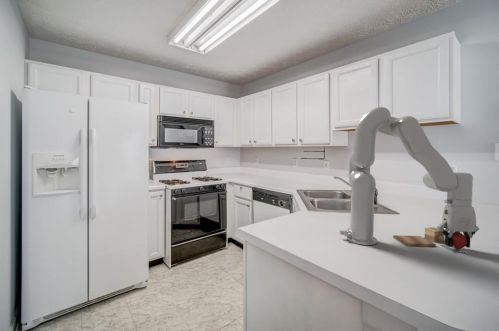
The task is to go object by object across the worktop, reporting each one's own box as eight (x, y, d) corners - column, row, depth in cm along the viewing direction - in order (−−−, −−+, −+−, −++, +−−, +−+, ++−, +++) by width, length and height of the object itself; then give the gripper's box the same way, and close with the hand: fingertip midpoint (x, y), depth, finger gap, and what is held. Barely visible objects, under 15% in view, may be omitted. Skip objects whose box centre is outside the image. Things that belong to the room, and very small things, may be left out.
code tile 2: (432, 242, 101) (432, 242, 101) (422, 238, 107) (422, 237, 107) (446, 243, 101) (446, 242, 101) (436, 238, 107) (436, 237, 107)
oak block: (434, 242, 101) (434, 231, 101) (424, 238, 106) (424, 227, 106) (444, 241, 102) (444, 230, 102) (434, 237, 107) (434, 227, 107)
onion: (447, 245, 98) (448, 227, 98) (466, 248, 95) (466, 229, 94) (448, 249, 94) (448, 230, 93) (467, 253, 90) (468, 233, 90)
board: (406, 246, 97) (406, 243, 97) (393, 237, 107) (393, 235, 107) (435, 247, 97) (435, 244, 97) (419, 238, 107) (419, 235, 106)
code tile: (454, 253, 90) (454, 253, 90) (439, 245, 98) (439, 245, 98) (476, 254, 90) (476, 253, 90) (459, 246, 98) (459, 245, 98)
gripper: (443, 204, 90) (442, 249, 91) (490, 205, 89) (488, 250, 90) (430, 200, 98) (428, 242, 98) (473, 201, 96) (471, 243, 97)
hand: (457, 245), depth 94 cm, fingers closed on onion, 5 cm apart
